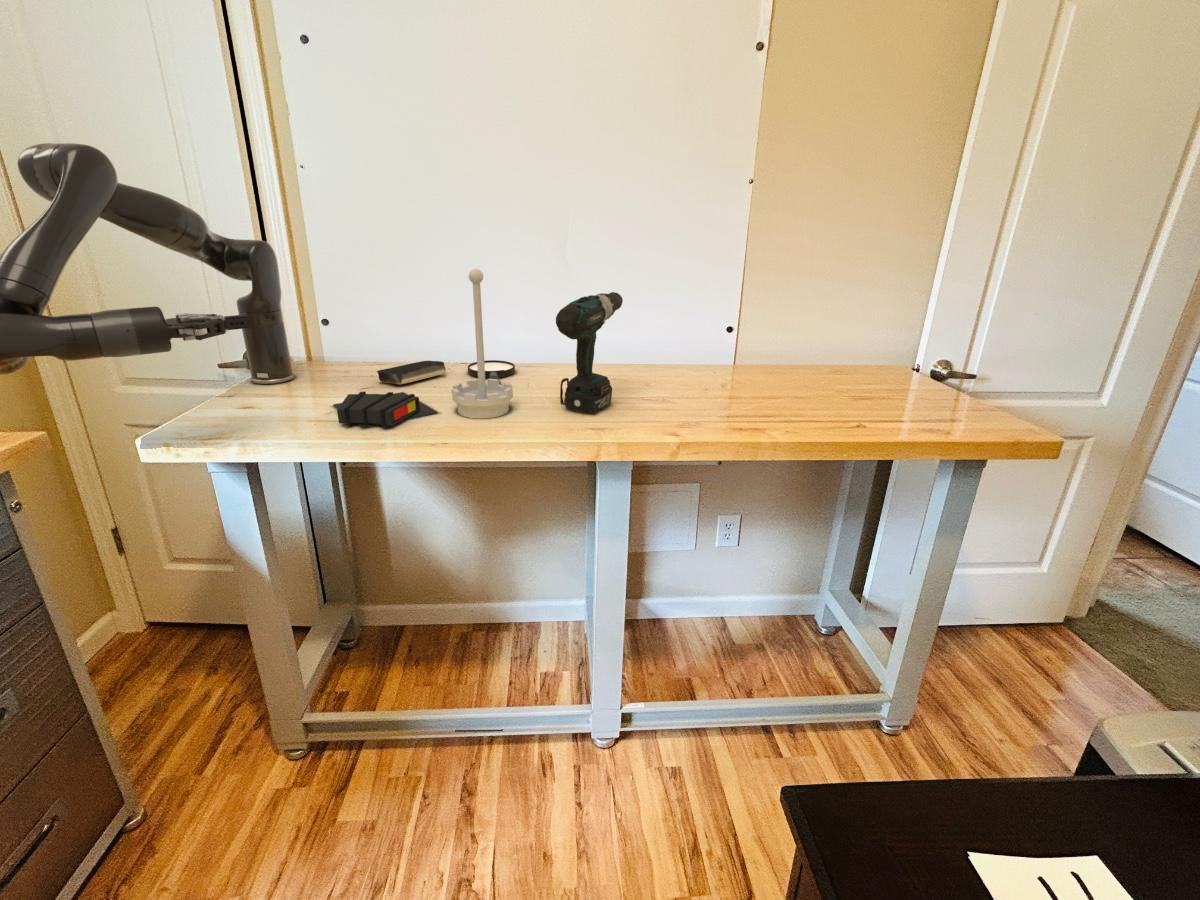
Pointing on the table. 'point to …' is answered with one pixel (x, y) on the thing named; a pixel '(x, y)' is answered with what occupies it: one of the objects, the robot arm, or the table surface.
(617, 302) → the power drill
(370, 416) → the black tall stepped block
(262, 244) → the robot arm
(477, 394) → the flag stand
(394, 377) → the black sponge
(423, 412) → the mat
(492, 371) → the magnifying glass
